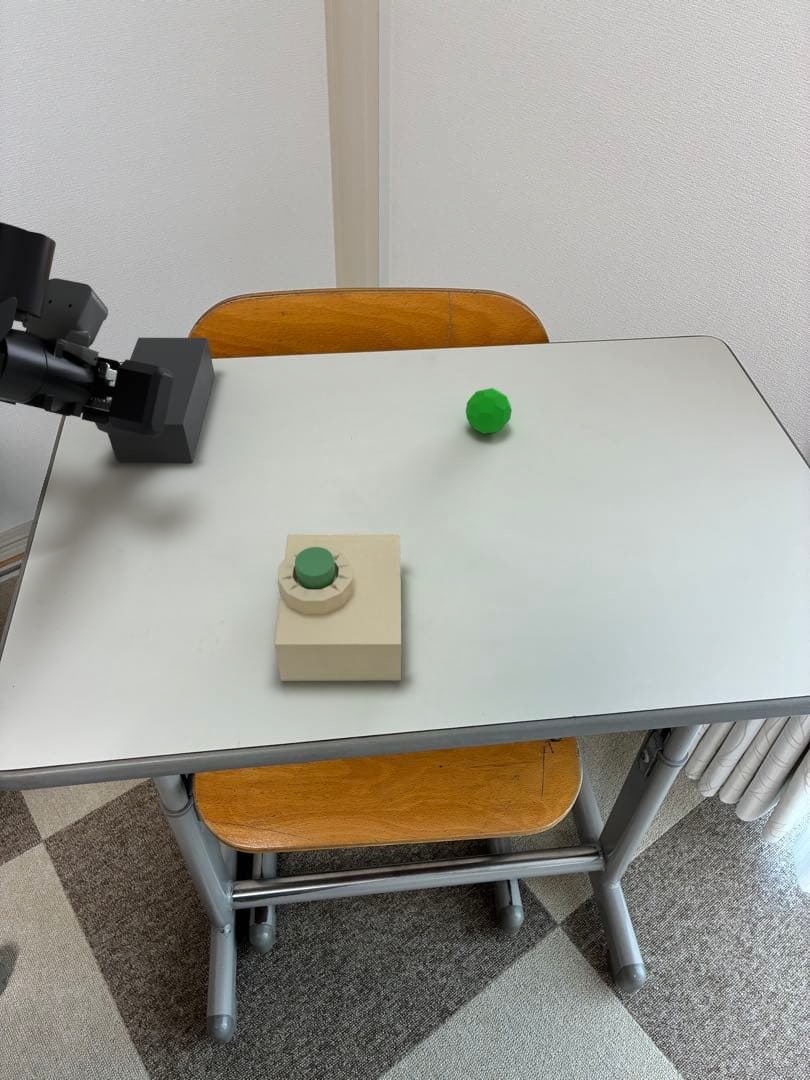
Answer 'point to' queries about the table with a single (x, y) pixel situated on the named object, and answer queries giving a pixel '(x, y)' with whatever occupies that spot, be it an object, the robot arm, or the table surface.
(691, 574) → the table surface
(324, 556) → the power button
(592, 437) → the table surface
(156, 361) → the dark gray block
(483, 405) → the polyhedron
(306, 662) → the box
